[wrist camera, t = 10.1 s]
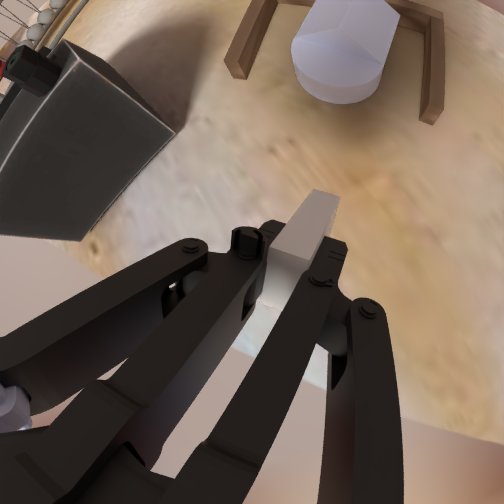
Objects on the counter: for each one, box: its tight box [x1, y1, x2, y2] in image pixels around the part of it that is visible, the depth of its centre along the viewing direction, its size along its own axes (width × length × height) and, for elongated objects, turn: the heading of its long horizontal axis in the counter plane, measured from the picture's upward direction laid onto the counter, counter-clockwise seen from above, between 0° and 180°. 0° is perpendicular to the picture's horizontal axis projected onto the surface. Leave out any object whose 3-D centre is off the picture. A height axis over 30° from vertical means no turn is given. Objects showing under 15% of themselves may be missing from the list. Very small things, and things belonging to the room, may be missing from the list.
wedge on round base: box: [291, 0, 400, 104], centre depth 23 cm, size 9×7×13 cm
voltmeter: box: [0, 39, 176, 242], centre depth 23 cm, size 16×16×20 cm
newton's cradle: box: [0, 0, 88, 103], centre depth 30 cm, size 30×10×18 cm, turn 156°
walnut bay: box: [224, 0, 445, 125], centre depth 25 cm, size 21×14×4 cm
